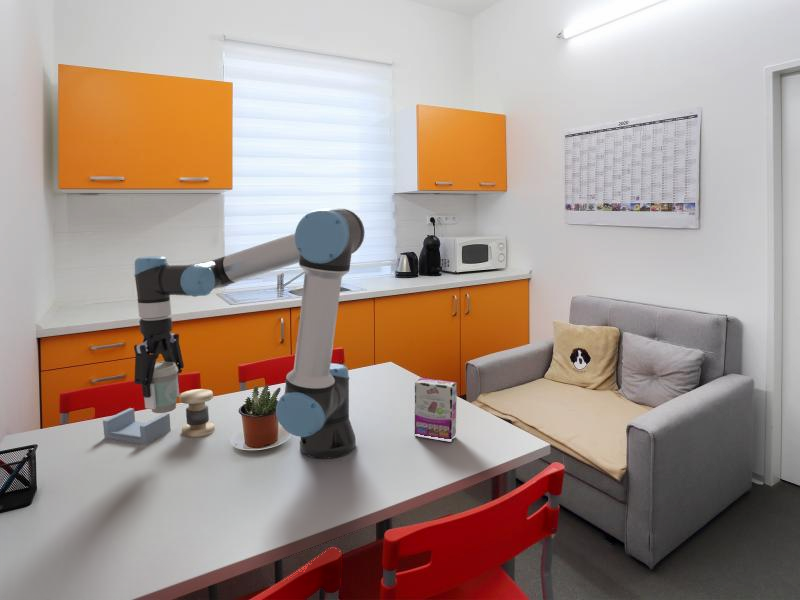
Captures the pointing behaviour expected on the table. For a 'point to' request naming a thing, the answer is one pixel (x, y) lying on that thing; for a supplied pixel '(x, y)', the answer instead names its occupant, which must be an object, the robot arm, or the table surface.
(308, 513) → the table surface
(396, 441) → the table surface
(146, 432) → the u-shaped channel bracket
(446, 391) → the candy bar box
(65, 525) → the table surface
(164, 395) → the coffee cup
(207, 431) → the bobbin
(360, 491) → the table surface
